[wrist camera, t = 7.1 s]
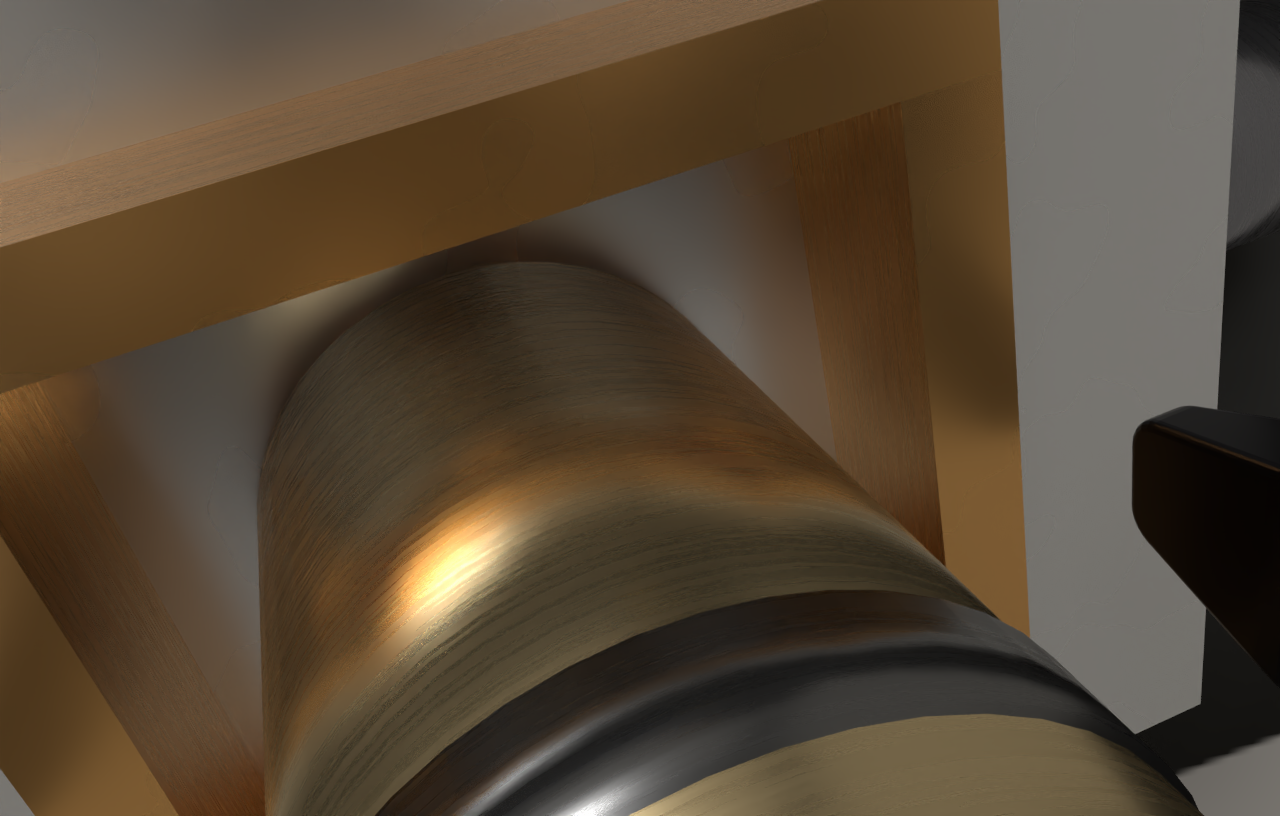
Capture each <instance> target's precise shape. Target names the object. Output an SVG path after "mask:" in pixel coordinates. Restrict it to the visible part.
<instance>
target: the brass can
mask: <svg viewBox="0 0 1280 816" xmlns="http://www.w3.org/2000/svg"><path fill="white" fill-rule="evenodd" d="M257 532H258V568H259V605H260V641H261V677H262V714H263V750H264V786H265V816H1204V815H1203V814H1202V813H1201V812H1200V811H1199V810H1198V808H1197V806H1196V803H1195V801H1194V799H1193V797H1192V795H1191V794H1190V792H1189V791H1188V790H1187V789H1186V787H1185V786H1184V785H1183V784H1182V782H1181V781H1180V780H1179V779H1178V777H1177V776H1176V775H1175V773H1174V772H1173V771H1172V770H1171V768H1170V767H1169V766H1168V765H1167V764H1166V763H1165V762H1164V761H1163V760H1162V759H1161V758H1160V757H1158V756H1157V755H1156V754H1155V753H1154V752H1153V751H1152V750H1151V749H1150V748H1149V747H1148V746H1147V745H1146V744H1145V743H1144V742H1143V741H1142V740H1141V739H1139V738H1138V737H1137V736H1136V735H1135V734H1134V733H1133V732H1132V731H1131V730H1130V729H1129V728H1128V727H1127V726H1126V725H1125V724H1124V723H1123V722H1121V721H1120V720H1119V719H1118V718H1117V717H1116V716H1115V715H1114V714H1113V713H1112V712H1111V711H1110V710H1109V709H1108V708H1107V707H1106V706H1105V705H1103V704H1102V703H1101V702H1100V701H1099V700H1098V699H1097V698H1096V697H1095V696H1094V695H1093V694H1092V693H1091V692H1090V691H1089V690H1088V689H1087V688H1085V687H1084V686H1083V685H1082V684H1081V683H1080V682H1079V681H1078V680H1077V679H1076V678H1075V677H1074V676H1073V675H1072V674H1071V673H1070V672H1069V671H1068V670H1066V669H1065V668H1064V667H1063V666H1062V665H1061V664H1060V663H1059V662H1058V661H1057V660H1056V659H1055V658H1054V657H1053V656H1051V655H1050V654H1049V653H1048V652H1046V651H1045V650H1044V649H1043V648H1041V647H1040V646H1039V645H1038V644H1036V643H1035V642H1034V641H1033V640H1031V639H1030V638H1029V637H1028V636H1026V635H1025V634H1024V633H1023V632H1021V631H1019V630H1017V629H1015V628H1013V627H1011V626H1009V625H1008V624H1006V623H1004V622H1002V621H1001V620H1000V619H999V618H998V617H997V616H996V615H995V614H994V613H993V612H992V611H991V610H990V609H989V608H988V607H987V606H986V605H984V604H983V603H982V602H981V601H980V600H979V599H978V598H977V597H976V596H975V595H974V594H973V593H972V592H971V591H970V590H969V589H968V588H967V587H966V586H965V585H964V584H963V583H962V582H961V581H960V580H958V579H957V578H956V577H955V576H954V575H953V574H952V573H951V572H950V571H949V570H948V569H947V568H946V567H945V566H944V565H943V564H942V563H941V562H940V561H939V560H938V559H937V558H936V557H935V556H934V555H933V554H931V553H930V552H929V551H928V550H927V549H926V548H925V547H924V546H923V545H922V544H921V543H920V542H919V541H918V540H917V539H916V538H915V537H914V536H913V535H912V534H911V533H910V532H909V531H908V530H907V529H905V528H904V527H903V526H902V525H901V524H900V523H899V522H898V521H897V520H896V519H895V518H894V517H893V516H892V515H891V514H890V513H889V512H888V511H887V510H886V509H885V508H884V507H883V506H882V505H881V504H879V503H878V502H877V501H876V500H875V499H874V498H873V497H872V496H871V495H870V494H869V493H868V492H867V491H866V490H865V489H864V488H863V487H862V486H861V485H860V484H859V483H858V482H857V481H856V480H855V479H854V478H852V477H851V476H850V475H849V474H848V473H847V472H846V471H845V470H844V469H843V468H842V467H841V466H840V465H839V464H838V463H837V462H836V461H835V460H834V459H833V458H832V457H831V456H830V455H829V454H828V453H826V452H825V451H824V450H823V449H822V448H821V447H820V446H819V445H818V444H817V443H816V442H815V441H814V440H813V439H812V438H811V437H810V436H809V435H808V434H807V433H806V432H805V431H804V430H803V429H802V428H801V427H799V426H798V425H797V424H796V423H795V422H794V421H793V420H792V419H791V418H790V417H789V416H788V415H787V414H786V413H785V412H784V411H783V410H782V409H781V408H780V407H779V406H778V405H777V404H776V403H775V402H773V401H772V400H771V399H770V398H769V397H768V396H767V395H766V394H765V393H764V392H763V391H762V390H761V389H760V388H759V387H758V386H757V385H756V384H755V383H754V382H753V381H752V380H751V379H750V378H749V377H747V376H746V375H745V374H744V373H743V372H742V371H741V370H740V369H739V368H738V367H737V366H736V365H735V364H734V363H733V362H732V361H731V360H730V359H729V358H728V357H727V356H726V355H725V354H724V353H723V352H722V351H720V350H719V349H718V348H717V347H716V346H715V345H714V344H713V343H712V342H711V341H710V340H709V339H708V338H707V337H706V336H705V335H704V334H703V333H702V332H701V331H700V330H699V329H698V328H697V327H696V326H694V325H693V324H692V323H691V322H690V321H689V320H688V319H687V318H686V317H684V316H683V315H682V314H681V313H680V312H678V311H677V310H676V309H675V308H674V307H672V306H671V305H670V304H669V303H668V302H666V301H664V300H663V299H661V298H659V297H658V296H656V295H654V294H653V293H651V292H650V291H648V290H646V289H645V288H643V287H641V286H639V285H636V284H634V283H632V282H629V281H627V280H625V279H622V278H620V277H618V276H615V275H613V274H609V273H605V272H602V271H598V270H594V269H590V268H587V267H583V266H576V265H569V264H561V263H553V262H510V263H503V264H495V265H488V266H480V267H476V268H472V269H468V270H464V271H460V272H456V273H453V274H449V275H445V276H442V277H440V278H437V279H434V280H432V281H429V282H427V283H424V284H422V285H419V286H417V287H414V288H412V289H409V290H408V291H406V292H404V293H402V294H400V295H399V296H397V297H395V298H393V299H391V300H390V301H388V302H386V303H384V304H382V305H381V306H379V307H377V308H376V309H374V310H373V311H371V312H370V313H369V314H367V315H366V316H365V317H363V318H362V319H361V320H359V321H358V322H356V323H355V324H354V325H352V326H351V327H350V328H348V329H347V330H346V331H345V332H344V333H343V334H342V335H341V336H340V337H339V338H337V339H336V340H335V341H334V342H333V343H332V344H331V345H330V346H329V347H328V348H327V349H326V350H325V351H324V352H323V353H322V354H321V355H320V356H319V357H318V359H317V360H316V361H315V362H314V363H313V365H312V366H311V367H310V368H309V370H308V371H307V372H306V373H305V375H304V376H303V377H302V378H301V379H300V381H299V382H298V384H297V386H296V387H295V389H294V390H293V392H292V394H291V395H290V397H289V399H288V400H287V402H286V404H285V405H284V407H283V409H282V410H281V412H280V415H279V417H278V419H277V422H276V424H275V426H274V429H273V431H272V433H271V436H270V438H269V441H268V444H267V448H266V451H265V455H264V459H263V463H262V467H261V471H260V477H259V487H258V496H257Z"/></svg>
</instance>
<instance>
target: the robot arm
mask: <svg viewBox="0 0 1280 816" xmlns="http://www.w3.org/2000/svg"><path fill="white" fill-rule="evenodd" d="M1132 512H1133V516H1134V520H1135V522H1136V524H1137V527H1138V529H1139V530H1140V532H1141V534H1142V535H1143V537H1144V538H1145V539H1146V541H1147V542H1148V543H1149V544H1150V545H1151V546H1152V547H1153V549H1154V550H1155V551H1156V552H1157V553H1158V554H1159V555H1160V556H1161V558H1162V559H1163V560H1164V561H1165V562H1166V563H1167V564H1168V565H1169V567H1170V568H1171V569H1172V570H1173V571H1174V572H1175V573H1176V574H1177V576H1178V577H1179V578H1180V579H1181V580H1182V581H1183V582H1184V584H1185V585H1186V586H1187V587H1188V588H1189V589H1190V590H1191V591H1192V593H1193V594H1194V595H1195V596H1196V597H1197V598H1198V599H1199V600H1200V602H1201V603H1202V604H1203V605H1204V606H1205V607H1206V608H1207V609H1208V611H1209V612H1210V613H1211V614H1212V615H1213V616H1214V617H1215V618H1216V620H1217V621H1218V622H1219V623H1220V624H1221V625H1222V626H1223V627H1224V629H1225V630H1226V631H1227V632H1228V633H1229V634H1230V635H1231V636H1232V638H1233V639H1234V640H1235V641H1236V642H1237V643H1238V644H1239V645H1240V647H1241V648H1242V649H1243V650H1244V651H1245V652H1246V653H1247V655H1248V656H1249V657H1250V658H1251V659H1252V660H1253V661H1254V662H1255V663H1256V664H1257V665H1258V666H1259V668H1260V669H1261V670H1262V671H1263V672H1264V673H1265V674H1266V675H1267V676H1268V677H1269V678H1270V679H1271V680H1272V681H1273V682H1274V683H1275V685H1277V686H1278V687H1279V688H1280V419H1277V418H1271V417H1264V416H1258V415H1251V414H1244V413H1238V412H1231V411H1225V410H1218V409H1212V408H1205V407H1199V406H1181V407H1178V408H1175V409H1172V410H1170V411H1167V412H1165V413H1162V414H1160V415H1157V416H1155V417H1152V418H1150V419H1147V420H1145V421H1144V422H1142V423H1141V424H1140V425H1139V426H1138V427H1137V429H1136V431H1135V433H1134V435H1133V441H1132Z"/></svg>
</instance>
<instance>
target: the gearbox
mask: <svg viewBox="0 0 1280 816" xmlns="http://www.w3.org/2000/svg"><path fill="white" fill-rule="evenodd" d="M1278 231H1280V0H1242V1H1240V0H0V816H265V786H264V750H263V714H262V677H261V641H260V605H259V568H258V532H257V496H258V487H259V477H260V471H261V467H262V463H263V459H264V455H265V451H266V448H267V444H268V441H269V438H270V436H271V433H272V431H273V429H274V426H275V424H276V422H277V419H278V417H279V415H280V412H281V410H282V409H283V407H284V405H285V404H286V402H287V400H288V399H289V397H290V395H291V394H292V392H293V390H294V389H295V387H296V386H297V384H298V382H299V381H300V379H301V378H302V377H303V376H304V375H305V373H306V372H307V371H308V370H309V368H310V367H311V366H312V365H313V363H314V362H315V361H316V360H317V359H318V357H319V356H320V355H321V354H322V353H323V352H324V351H325V350H326V349H327V348H328V347H329V346H330V345H331V344H332V343H333V342H334V341H335V340H336V339H337V338H339V337H340V336H341V335H342V334H343V333H344V332H345V331H346V330H347V329H348V328H350V327H351V326H352V325H354V324H355V323H356V322H358V321H359V320H361V319H362V318H363V317H365V316H366V315H367V314H369V313H370V312H371V311H373V310H374V309H376V308H377V307H379V306H381V305H382V304H384V303H386V302H388V301H390V300H391V299H393V298H395V297H397V296H399V295H400V294H402V293H404V292H406V291H408V290H409V289H412V288H414V287H417V286H419V285H422V284H424V283H427V282H429V281H432V280H434V279H437V278H440V277H442V276H445V275H449V274H453V273H456V272H460V271H464V270H468V269H472V268H476V267H480V266H488V265H495V264H503V263H510V262H553V263H561V264H569V265H576V266H583V267H587V268H590V269H594V270H598V271H602V272H605V273H609V274H613V275H615V276H618V277H620V278H622V279H625V280H627V281H629V282H632V283H634V284H636V285H639V286H641V287H643V288H645V289H646V290H648V291H650V292H651V293H653V294H654V295H656V296H658V297H659V298H661V299H663V300H664V301H666V302H668V303H669V304H670V305H671V306H672V307H674V308H675V309H676V310H677V311H678V312H680V313H681V314H682V315H683V316H684V317H686V318H687V319H688V320H689V321H690V322H691V323H692V324H693V325H694V326H696V327H697V328H698V329H699V330H700V331H701V332H702V333H703V334H704V335H705V336H706V337H707V338H708V339H709V340H710V341H711V342H712V343H713V344H714V345H715V346H716V347H717V348H718V349H719V350H720V351H722V352H723V353H724V354H725V355H726V356H727V357H728V358H729V359H730V360H731V361H732V362H733V363H734V364H735V365H736V366H737V367H738V368H739V369H740V370H741V371H742V372H743V373H744V374H745V375H746V376H747V377H749V378H750V379H751V380H752V381H753V382H754V383H755V384H756V385H757V386H758V387H759V388H760V389H761V390H762V391H763V392H764V393H765V394H766V395H767V396H768V397H769V398H770V399H771V400H772V401H773V402H775V403H776V404H777V405H778V406H779V407H780V408H781V409H782V410H783V411H784V412H785V413H786V414H787V415H788V416H789V417H790V418H791V419H792V420H793V421H794V422H795V423H796V424H797V425H798V426H799V427H801V428H802V429H803V430H804V431H805V432H806V433H807V434H808V435H809V436H810V437H811V438H812V439H813V440H814V441H815V442H816V443H817V444H818V445H819V446H820V447H821V448H822V449H823V450H824V451H825V452H826V453H828V454H829V455H830V456H831V457H832V458H833V459H834V460H835V461H836V462H837V463H838V464H839V465H840V466H841V467H842V468H843V469H844V470H845V471H846V472H847V473H848V474H849V475H850V476H851V477H852V478H854V479H855V480H856V481H857V482H858V483H859V484H860V485H861V486H862V487H863V488H864V489H865V490H866V491H867V492H868V493H869V494H870V495H871V496H872V497H873V498H874V499H875V500H876V501H877V502H878V503H879V504H881V505H882V506H883V507H884V508H885V509H886V510H887V511H888V512H889V513H890V514H891V515H892V516H893V517H894V518H895V519H896V520H897V521H898V522H899V523H900V524H901V525H902V526H903V527H904V528H905V529H907V530H908V531H909V532H910V533H911V534H912V535H913V536H914V537H915V538H916V539H917V540H918V541H919V542H920V543H921V544H922V545H923V546H924V547H925V548H926V549H927V550H928V551H929V552H930V553H931V554H933V555H934V556H935V557H936V558H937V559H938V560H939V561H940V562H941V563H942V564H943V565H944V566H945V567H946V568H947V569H948V570H949V571H950V572H951V573H952V574H953V575H954V576H955V577H956V578H957V579H958V580H960V581H961V582H962V583H963V584H964V585H965V586H966V587H967V588H968V589H969V590H970V591H971V592H972V593H973V594H974V595H975V596H976V597H977V598H978V599H979V600H980V601H981V602H982V603H983V604H984V605H986V606H987V607H988V608H989V609H990V610H991V611H992V612H993V613H994V614H995V615H996V616H997V617H998V618H999V619H1000V620H1001V621H1002V622H1004V623H1006V624H1008V625H1009V626H1011V627H1013V628H1015V629H1017V630H1019V631H1021V632H1023V633H1024V634H1025V635H1026V636H1028V637H1029V638H1030V639H1031V640H1033V641H1034V642H1035V643H1036V644H1038V645H1039V646H1040V647H1041V648H1043V649H1044V650H1045V651H1046V652H1048V653H1049V654H1050V655H1051V656H1053V657H1054V658H1055V659H1056V660H1057V661H1058V662H1059V663H1060V664H1061V665H1062V666H1063V667H1064V668H1065V669H1066V670H1068V671H1069V672H1070V673H1071V674H1072V675H1073V676H1074V677H1075V678H1076V679H1077V680H1078V681H1079V682H1080V683H1081V684H1082V685H1083V686H1084V687H1085V688H1087V689H1088V690H1089V691H1090V692H1091V693H1092V694H1093V695H1094V696H1095V697H1096V698H1097V699H1098V700H1099V701H1100V702H1101V703H1102V704H1103V705H1105V706H1106V707H1107V708H1108V709H1109V710H1110V711H1111V712H1112V713H1113V714H1114V715H1115V716H1116V717H1117V718H1118V719H1119V720H1120V721H1121V722H1123V723H1124V724H1125V725H1126V726H1127V727H1128V728H1129V729H1130V730H1131V731H1132V732H1133V733H1134V734H1137V733H1139V732H1141V731H1143V730H1145V729H1147V728H1150V727H1152V726H1154V725H1156V724H1158V723H1160V722H1162V721H1165V720H1167V719H1169V718H1171V717H1173V716H1175V715H1177V714H1180V713H1182V712H1184V711H1186V710H1188V709H1190V708H1192V707H1195V706H1197V705H1199V704H1201V687H1202V669H1203V652H1204V634H1205V616H1206V607H1205V606H1204V605H1203V604H1202V603H1201V602H1200V600H1199V599H1198V598H1197V597H1196V596H1195V595H1194V594H1193V593H1192V591H1191V590H1190V589H1189V588H1188V587H1187V586H1186V585H1185V584H1184V582H1183V581H1182V580H1181V579H1180V578H1179V577H1178V576H1177V574H1176V573H1175V572H1174V571H1173V570H1172V569H1171V568H1170V567H1169V565H1168V564H1167V563H1166V562H1165V561H1164V560H1163V559H1162V558H1161V556H1160V555H1159V554H1158V553H1157V552H1156V551H1155V550H1154V549H1153V547H1152V546H1151V545H1150V544H1149V543H1148V542H1147V541H1146V539H1145V538H1144V537H1143V535H1142V534H1141V532H1140V530H1139V529H1138V527H1137V524H1136V522H1135V520H1134V516H1133V512H1132V441H1133V435H1134V433H1135V431H1136V429H1137V427H1138V426H1139V425H1140V424H1141V423H1142V422H1144V421H1145V420H1147V419H1150V418H1152V417H1155V416H1157V415H1160V414H1162V413H1165V412H1167V411H1170V410H1172V409H1175V408H1178V407H1181V406H1199V407H1205V408H1212V409H1217V402H1218V384H1219V366H1220V348H1221V330H1222V312H1223V294H1224V277H1225V259H1226V251H1227V250H1230V249H1233V248H1235V247H1238V246H1241V245H1243V244H1246V243H1249V242H1251V241H1254V240H1257V239H1259V238H1262V237H1265V236H1267V235H1270V234H1272V233H1275V232H1278Z"/></svg>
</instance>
